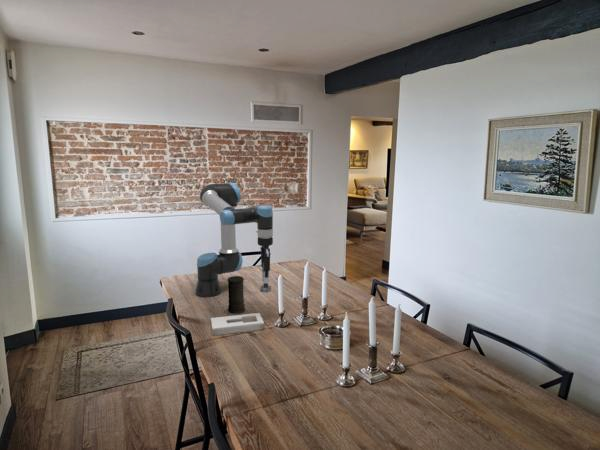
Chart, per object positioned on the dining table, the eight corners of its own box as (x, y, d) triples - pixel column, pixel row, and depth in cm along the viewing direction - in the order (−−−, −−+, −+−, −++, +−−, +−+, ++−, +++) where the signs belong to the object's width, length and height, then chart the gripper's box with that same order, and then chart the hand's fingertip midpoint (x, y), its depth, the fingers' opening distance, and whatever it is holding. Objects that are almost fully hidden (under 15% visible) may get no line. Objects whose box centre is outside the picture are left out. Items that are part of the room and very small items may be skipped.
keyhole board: (211, 324, 193) (211, 318, 192) (259, 319, 199) (259, 312, 199) (212, 335, 181) (212, 328, 181) (264, 329, 188) (263, 322, 187)
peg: (259, 289, 202) (259, 261, 199) (269, 288, 204) (269, 260, 201) (261, 292, 197) (261, 264, 194) (271, 291, 199) (271, 263, 196)
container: (246, 307, 214) (246, 275, 210) (242, 314, 205) (241, 281, 202) (230, 306, 215) (229, 275, 211) (225, 313, 206) (224, 280, 202)
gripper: (255, 234, 201) (255, 277, 206) (260, 240, 187) (261, 287, 191) (269, 233, 203) (269, 276, 208) (275, 239, 189) (276, 286, 193)
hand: (265, 282), depth 200 cm, fingers closed on peg, 2 cm apart
